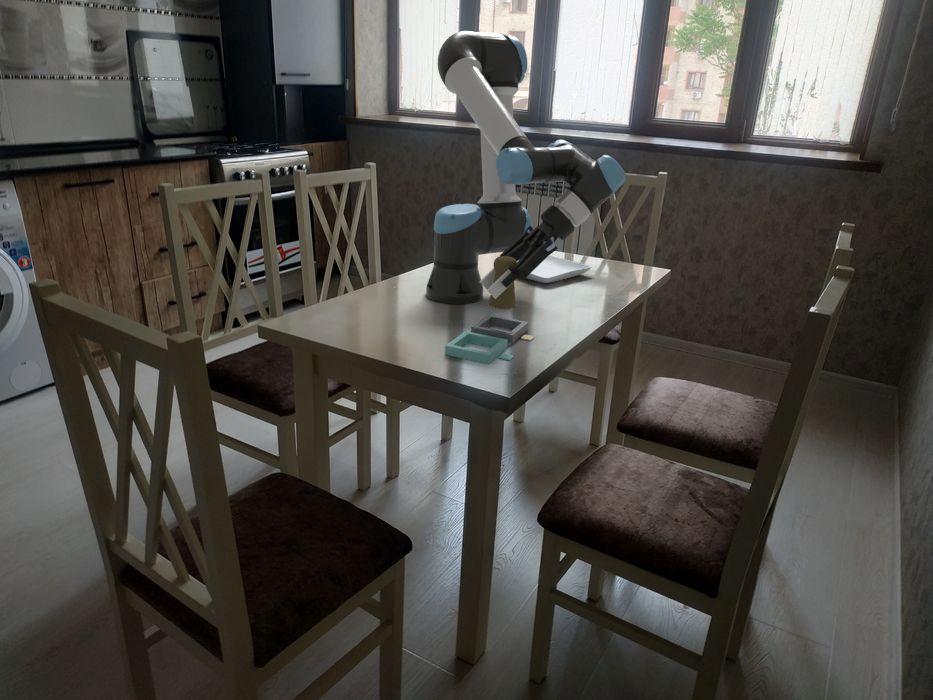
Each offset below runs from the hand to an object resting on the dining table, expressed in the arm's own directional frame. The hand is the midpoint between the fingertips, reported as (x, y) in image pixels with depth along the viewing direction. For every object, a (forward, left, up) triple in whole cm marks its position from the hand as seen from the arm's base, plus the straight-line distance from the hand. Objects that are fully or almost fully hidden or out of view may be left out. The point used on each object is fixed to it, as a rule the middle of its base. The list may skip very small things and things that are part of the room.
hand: (487, 290), depth 147 cm
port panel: (+4, -4, -10) cm, 12 cm away
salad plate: (-5, +56, -11) cm, 57 cm away
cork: (+3, +2, -4) cm, 5 cm away
